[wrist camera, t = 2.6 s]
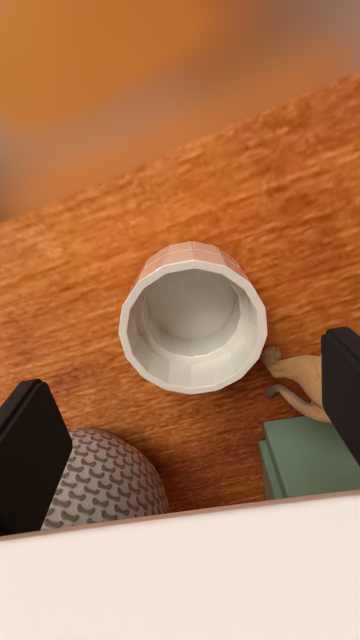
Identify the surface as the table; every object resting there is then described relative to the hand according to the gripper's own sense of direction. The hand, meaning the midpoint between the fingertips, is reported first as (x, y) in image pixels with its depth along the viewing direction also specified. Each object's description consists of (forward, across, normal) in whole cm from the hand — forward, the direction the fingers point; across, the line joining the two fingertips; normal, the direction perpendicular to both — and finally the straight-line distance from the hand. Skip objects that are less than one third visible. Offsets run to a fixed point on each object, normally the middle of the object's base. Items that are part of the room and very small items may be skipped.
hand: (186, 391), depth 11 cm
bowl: (+9, 0, 0) cm, 9 cm away
